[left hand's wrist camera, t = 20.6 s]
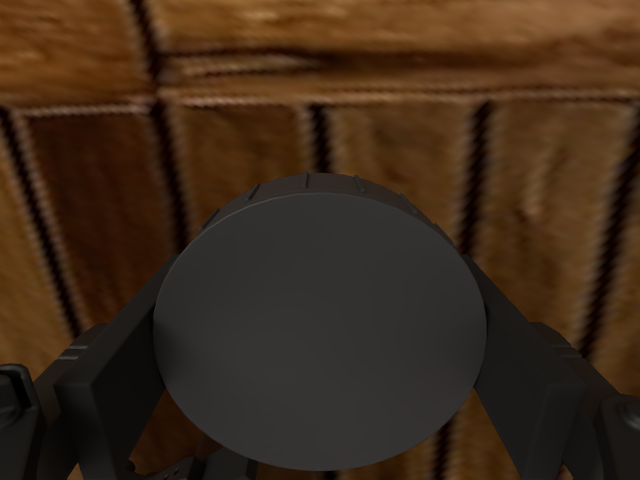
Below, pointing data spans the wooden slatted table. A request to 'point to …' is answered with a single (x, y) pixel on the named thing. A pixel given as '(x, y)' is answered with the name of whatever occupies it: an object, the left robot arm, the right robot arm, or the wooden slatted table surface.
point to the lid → (319, 324)
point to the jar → (267, 475)
